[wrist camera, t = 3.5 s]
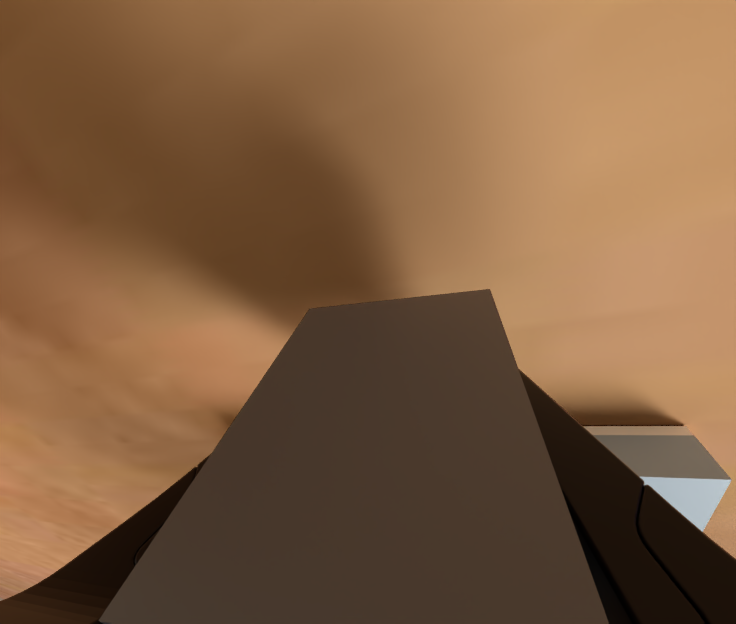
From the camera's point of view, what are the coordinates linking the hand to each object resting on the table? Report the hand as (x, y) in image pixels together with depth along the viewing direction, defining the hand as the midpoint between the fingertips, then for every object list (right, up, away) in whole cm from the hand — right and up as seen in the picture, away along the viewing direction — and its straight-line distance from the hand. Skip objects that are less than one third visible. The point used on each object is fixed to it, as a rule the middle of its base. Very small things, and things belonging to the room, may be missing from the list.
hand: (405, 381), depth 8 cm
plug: (0, +1, +1) cm, 1 cm away
